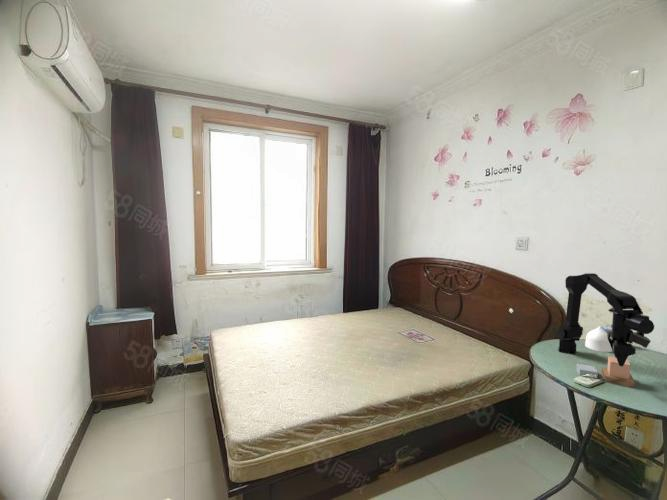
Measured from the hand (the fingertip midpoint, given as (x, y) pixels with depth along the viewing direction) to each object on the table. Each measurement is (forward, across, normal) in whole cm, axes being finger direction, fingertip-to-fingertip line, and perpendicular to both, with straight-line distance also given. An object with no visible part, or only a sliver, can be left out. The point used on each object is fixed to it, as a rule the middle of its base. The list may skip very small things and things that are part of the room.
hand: (618, 361), depth 129 cm
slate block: (+8, 0, +10) cm, 13 cm away
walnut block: (+9, 0, 0) cm, 9 cm away
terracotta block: (+6, 0, 0) cm, 6 cm away
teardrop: (+8, +38, +2) cm, 39 cm away
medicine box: (+8, +47, -4) cm, 48 cm away
